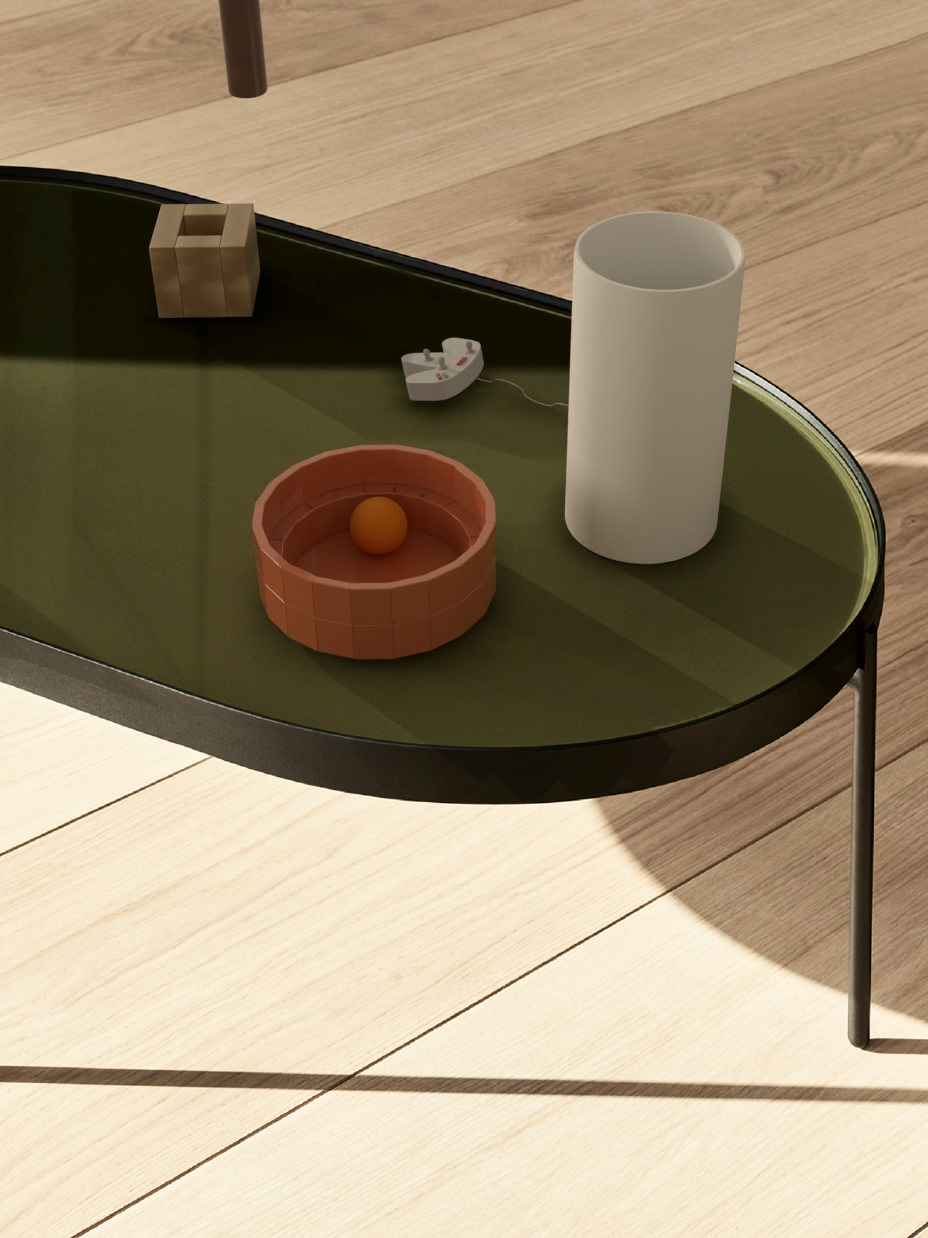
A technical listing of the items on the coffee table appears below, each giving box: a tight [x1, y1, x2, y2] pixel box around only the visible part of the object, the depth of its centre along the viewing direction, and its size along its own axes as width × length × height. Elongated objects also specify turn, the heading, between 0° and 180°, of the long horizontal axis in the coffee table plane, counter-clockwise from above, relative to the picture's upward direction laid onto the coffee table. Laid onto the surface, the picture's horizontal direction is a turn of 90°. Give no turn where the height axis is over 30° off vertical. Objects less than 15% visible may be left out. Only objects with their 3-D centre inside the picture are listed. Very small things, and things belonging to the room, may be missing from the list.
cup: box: [564, 210, 746, 565], centre depth 86 cm, size 8×8×16 cm
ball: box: [350, 497, 408, 554], centre depth 87 cm, size 3×3×3 cm
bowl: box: [251, 444, 497, 660], centre depth 85 cm, size 12×12×5 cm
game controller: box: [400, 337, 569, 407], centre depth 100 cm, size 6×12×3 cm, turn 81°
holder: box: [148, 202, 261, 319], centre depth 108 cm, size 6×6×5 cm
